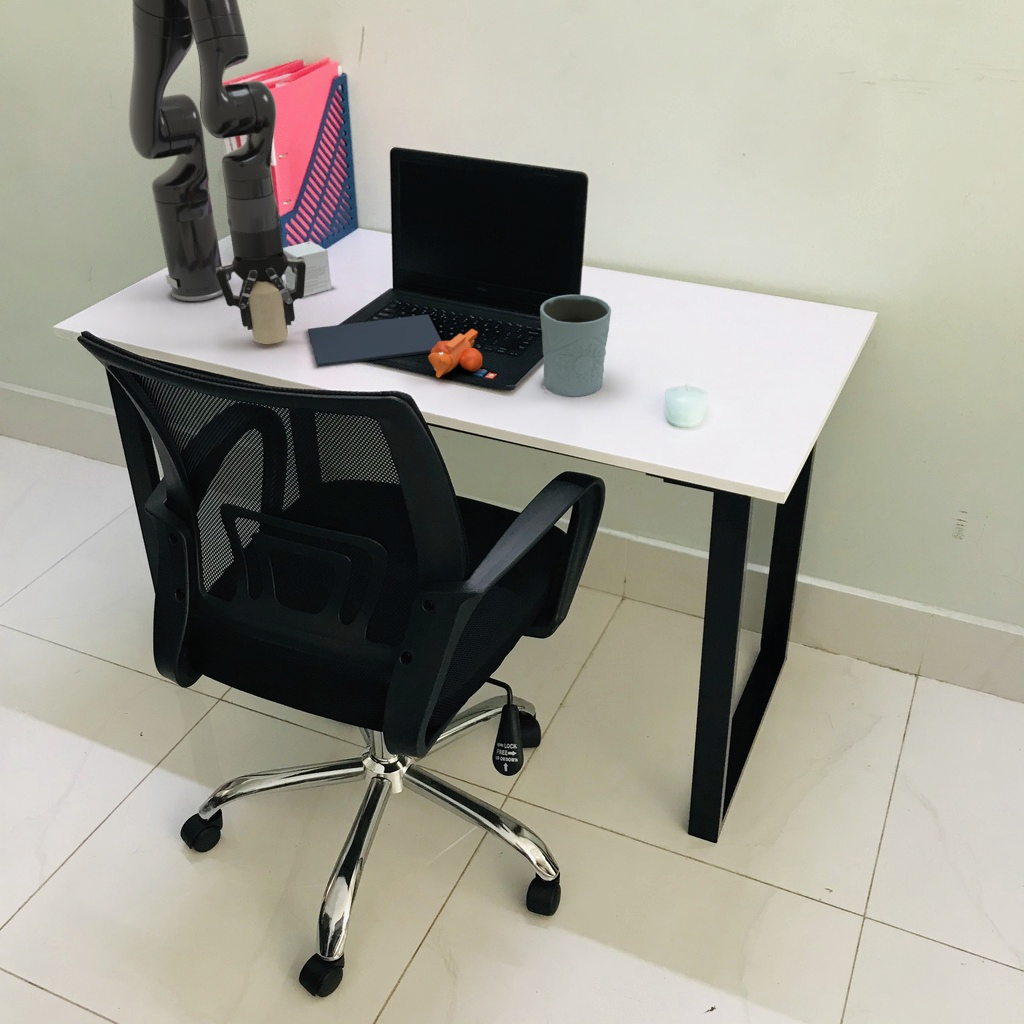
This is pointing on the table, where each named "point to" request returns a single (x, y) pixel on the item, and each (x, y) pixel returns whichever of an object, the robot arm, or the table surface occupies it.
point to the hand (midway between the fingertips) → (269, 325)
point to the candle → (267, 313)
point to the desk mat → (373, 340)
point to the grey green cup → (574, 343)
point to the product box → (309, 267)
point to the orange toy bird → (456, 354)
